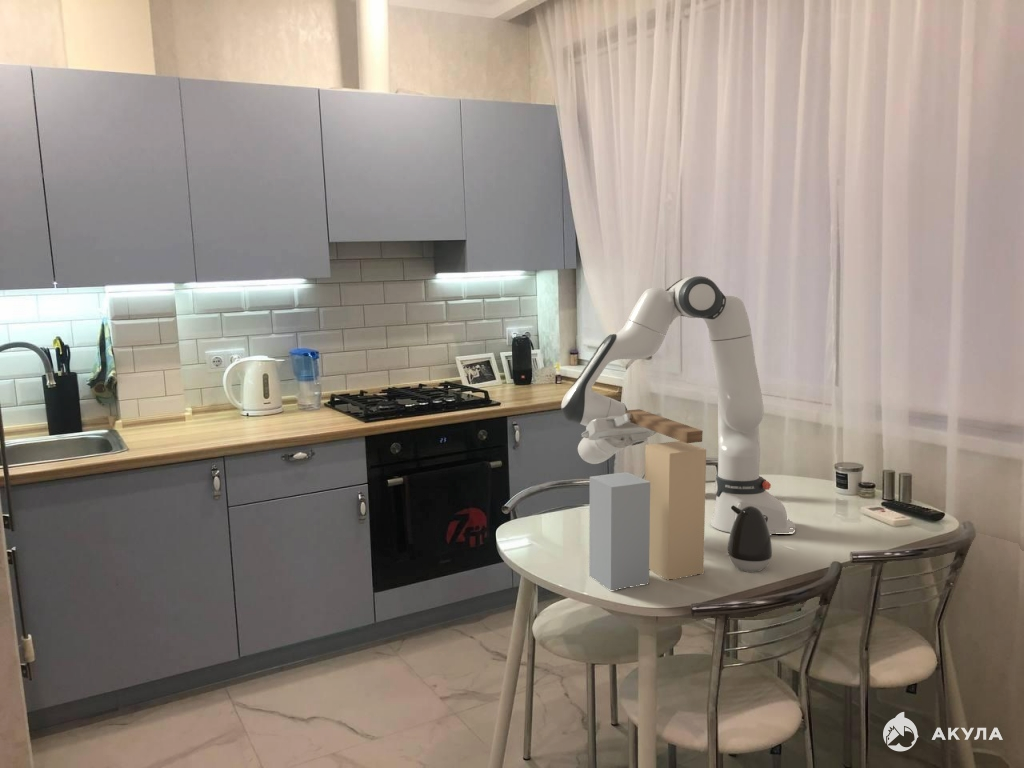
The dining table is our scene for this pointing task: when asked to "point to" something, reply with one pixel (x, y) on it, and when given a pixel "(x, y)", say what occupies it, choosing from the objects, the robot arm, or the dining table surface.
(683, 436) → the slat
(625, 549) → the grey box
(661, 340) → the robot arm
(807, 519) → the dining table surface
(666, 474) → the carton
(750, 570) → the pump dispenser
